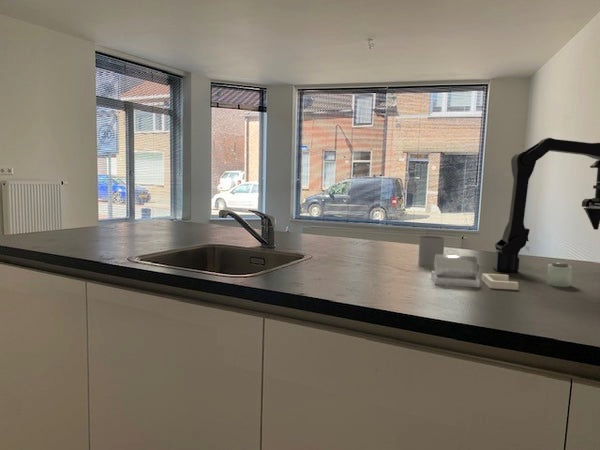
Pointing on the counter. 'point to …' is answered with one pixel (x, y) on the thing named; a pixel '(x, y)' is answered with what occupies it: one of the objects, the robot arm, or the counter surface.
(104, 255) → the counter surface
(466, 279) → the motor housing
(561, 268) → the frosted cube with recess
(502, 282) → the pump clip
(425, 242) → the cup
